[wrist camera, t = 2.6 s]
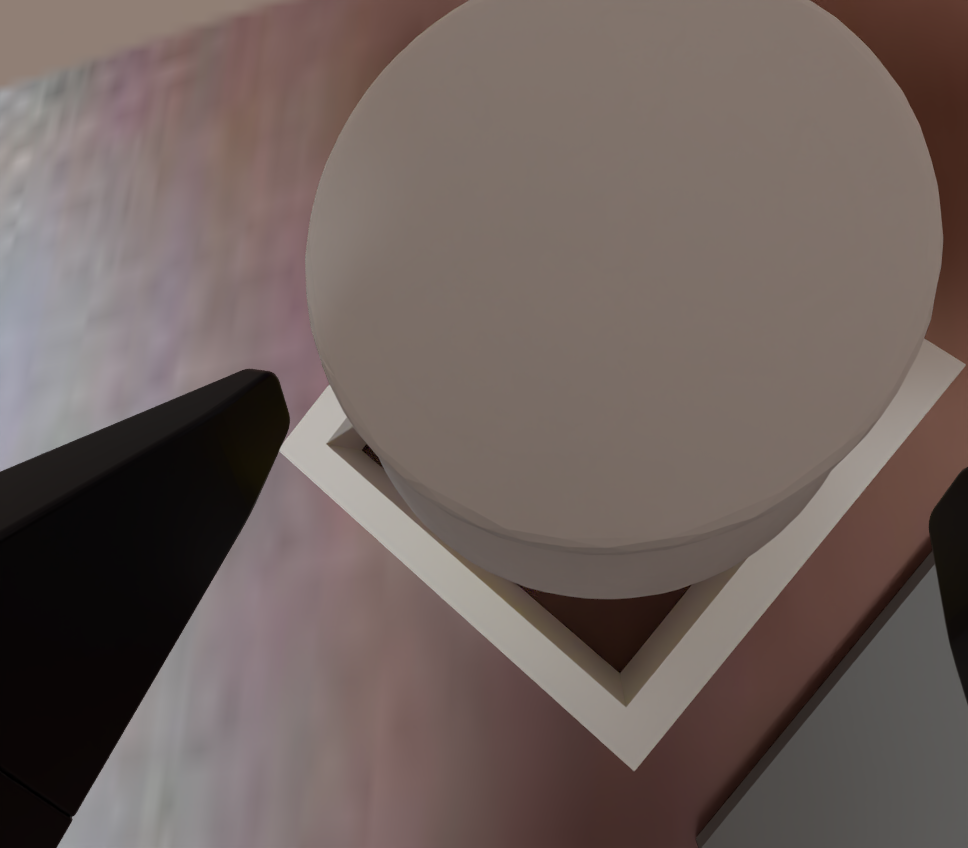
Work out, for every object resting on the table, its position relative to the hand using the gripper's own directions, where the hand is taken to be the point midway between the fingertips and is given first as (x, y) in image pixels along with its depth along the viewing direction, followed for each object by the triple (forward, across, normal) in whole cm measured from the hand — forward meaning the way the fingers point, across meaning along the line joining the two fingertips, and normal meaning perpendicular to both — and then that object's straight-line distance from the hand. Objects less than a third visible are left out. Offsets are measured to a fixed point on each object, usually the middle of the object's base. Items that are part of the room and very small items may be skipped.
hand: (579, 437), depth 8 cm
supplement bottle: (+7, 0, +6) cm, 9 cm away
